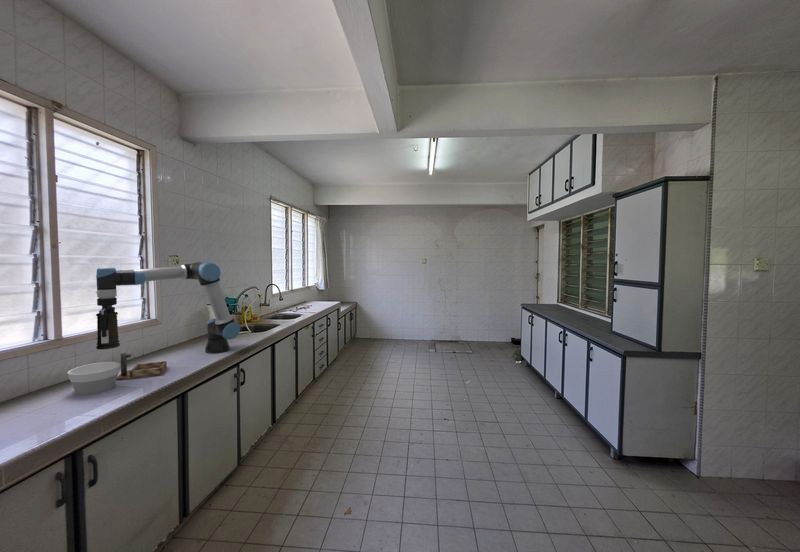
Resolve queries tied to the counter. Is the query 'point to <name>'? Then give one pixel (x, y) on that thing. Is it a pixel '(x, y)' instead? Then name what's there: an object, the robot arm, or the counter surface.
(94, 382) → the bowl
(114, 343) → the container
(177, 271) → the robot arm
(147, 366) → the hook shelf
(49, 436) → the counter surface
